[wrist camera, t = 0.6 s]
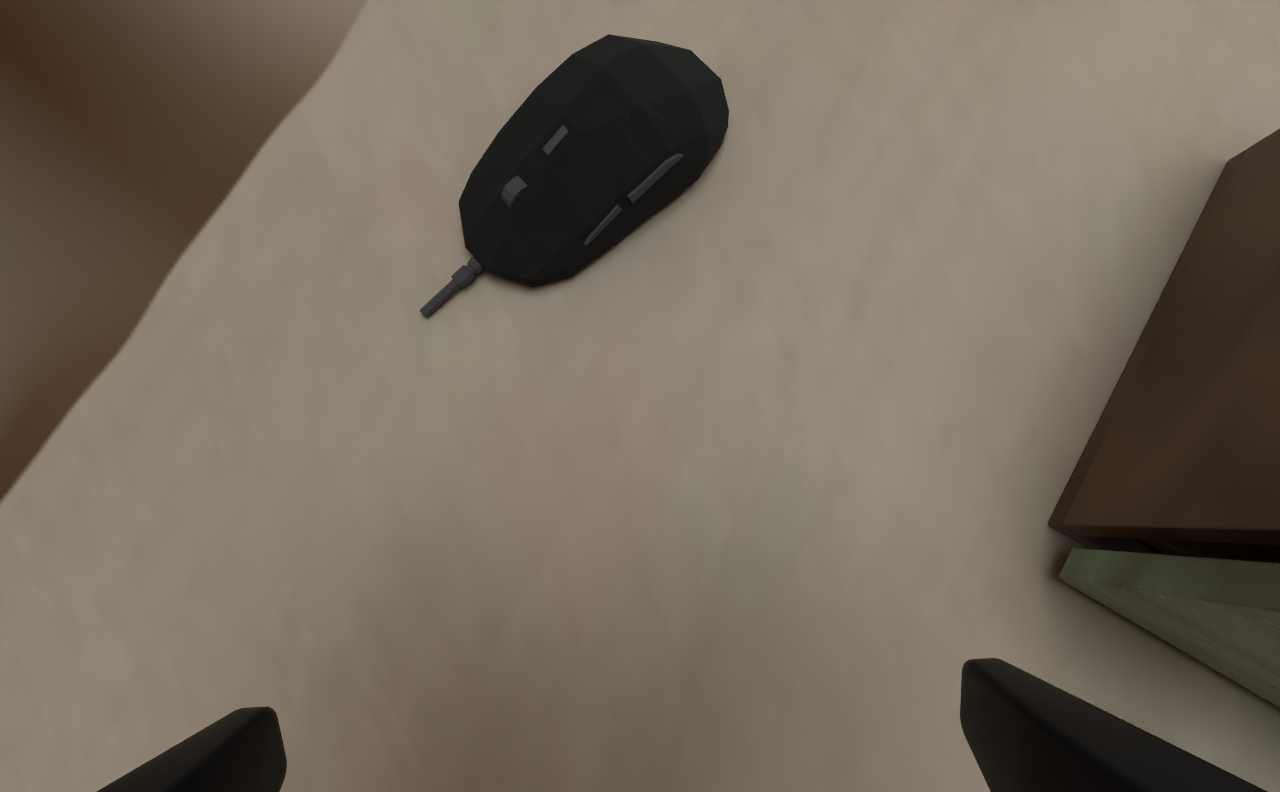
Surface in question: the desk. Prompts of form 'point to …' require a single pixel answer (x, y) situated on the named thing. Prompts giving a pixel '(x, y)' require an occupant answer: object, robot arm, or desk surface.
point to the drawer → (1196, 601)
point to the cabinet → (1197, 390)
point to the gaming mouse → (588, 160)
